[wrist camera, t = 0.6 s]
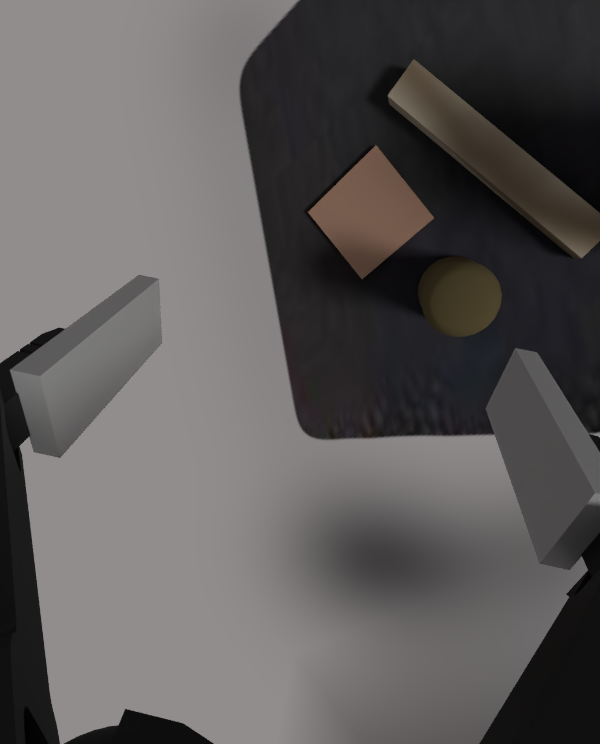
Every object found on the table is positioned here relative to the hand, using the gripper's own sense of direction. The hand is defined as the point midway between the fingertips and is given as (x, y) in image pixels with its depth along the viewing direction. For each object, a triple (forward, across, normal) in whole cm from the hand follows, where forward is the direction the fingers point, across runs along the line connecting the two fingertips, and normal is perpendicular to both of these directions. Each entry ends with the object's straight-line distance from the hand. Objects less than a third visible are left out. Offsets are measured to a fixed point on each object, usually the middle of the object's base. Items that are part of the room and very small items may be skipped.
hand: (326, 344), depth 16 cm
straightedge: (+27, +10, +5) cm, 29 cm away
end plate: (+27, +1, -1) cm, 27 cm away
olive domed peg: (+24, +10, -6) cm, 27 cm away
